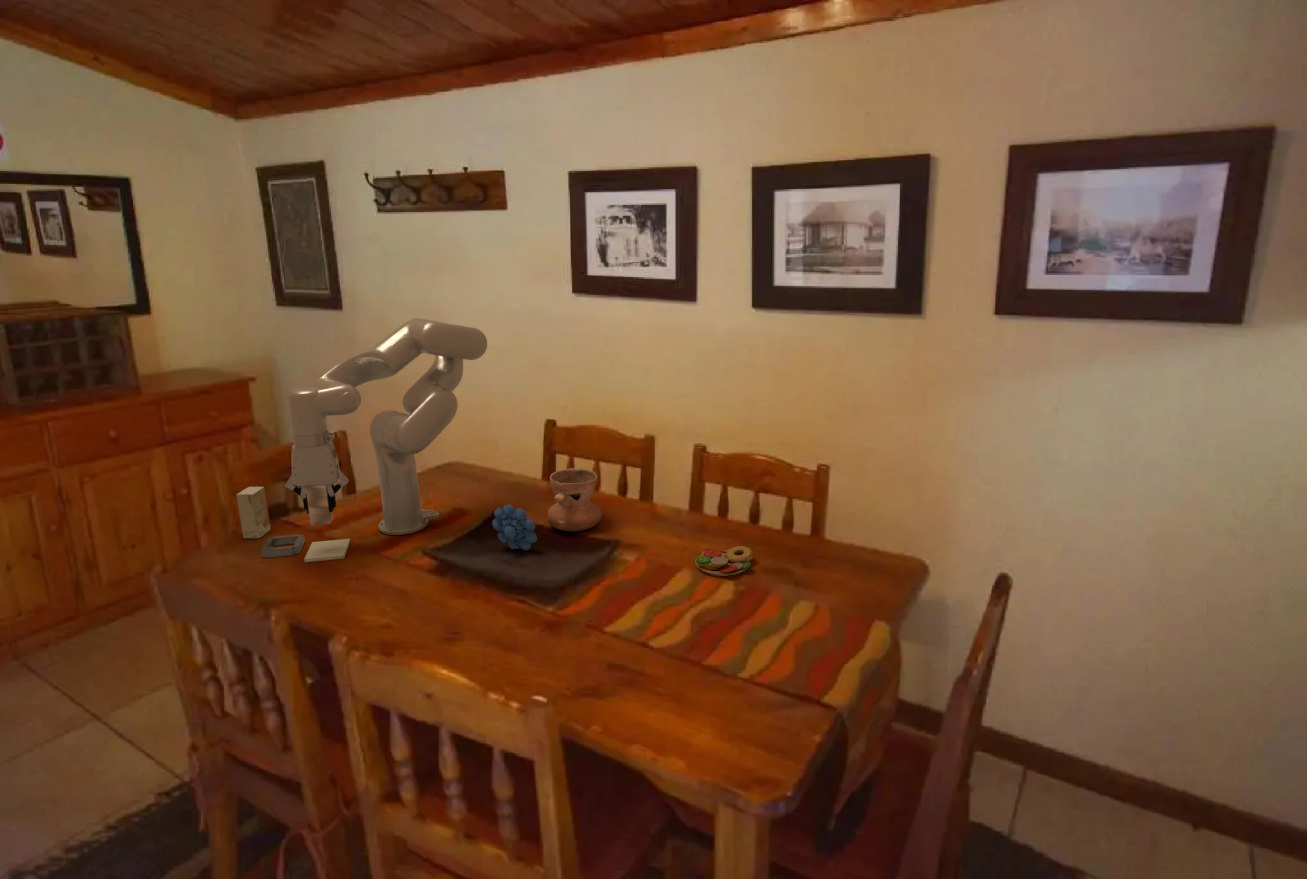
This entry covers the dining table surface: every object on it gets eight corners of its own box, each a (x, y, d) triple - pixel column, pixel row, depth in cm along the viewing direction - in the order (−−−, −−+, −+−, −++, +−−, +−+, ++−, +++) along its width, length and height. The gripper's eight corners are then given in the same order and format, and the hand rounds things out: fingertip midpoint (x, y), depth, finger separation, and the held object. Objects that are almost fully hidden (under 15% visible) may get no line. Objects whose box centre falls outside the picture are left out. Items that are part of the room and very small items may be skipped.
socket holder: (305, 540, 197) (304, 533, 196) (298, 554, 189) (297, 547, 188) (270, 544, 195) (268, 536, 194) (261, 558, 187) (260, 550, 186)
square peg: (333, 517, 190) (328, 479, 187) (330, 523, 186) (325, 485, 183) (314, 518, 189) (309, 480, 186) (310, 525, 185) (305, 486, 182)
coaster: (350, 541, 196) (349, 538, 196) (344, 558, 187) (343, 555, 186) (312, 545, 194) (312, 542, 194) (304, 562, 185) (304, 559, 184)
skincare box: (259, 539, 198) (252, 494, 194) (243, 539, 198) (235, 494, 194) (272, 528, 204) (264, 485, 201) (255, 528, 204) (248, 485, 201)
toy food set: (755, 558, 185) (756, 545, 184) (747, 583, 173) (747, 569, 172) (701, 552, 189) (701, 540, 188) (689, 576, 177) (689, 563, 176)
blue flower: (486, 554, 188) (482, 509, 184) (498, 543, 194) (495, 499, 190) (530, 559, 185) (527, 513, 181) (541, 548, 191) (538, 503, 188)
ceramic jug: (583, 542, 194) (582, 489, 190) (534, 532, 200) (532, 481, 196) (615, 518, 210) (614, 468, 206) (568, 509, 216) (567, 461, 212)
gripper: (351, 432, 187) (359, 502, 192) (276, 437, 183) (287, 508, 189) (346, 441, 180) (355, 513, 185) (269, 445, 176) (279, 519, 182)
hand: (320, 510), depth 187 cm, fingers closed on square peg, 4 cm apart
